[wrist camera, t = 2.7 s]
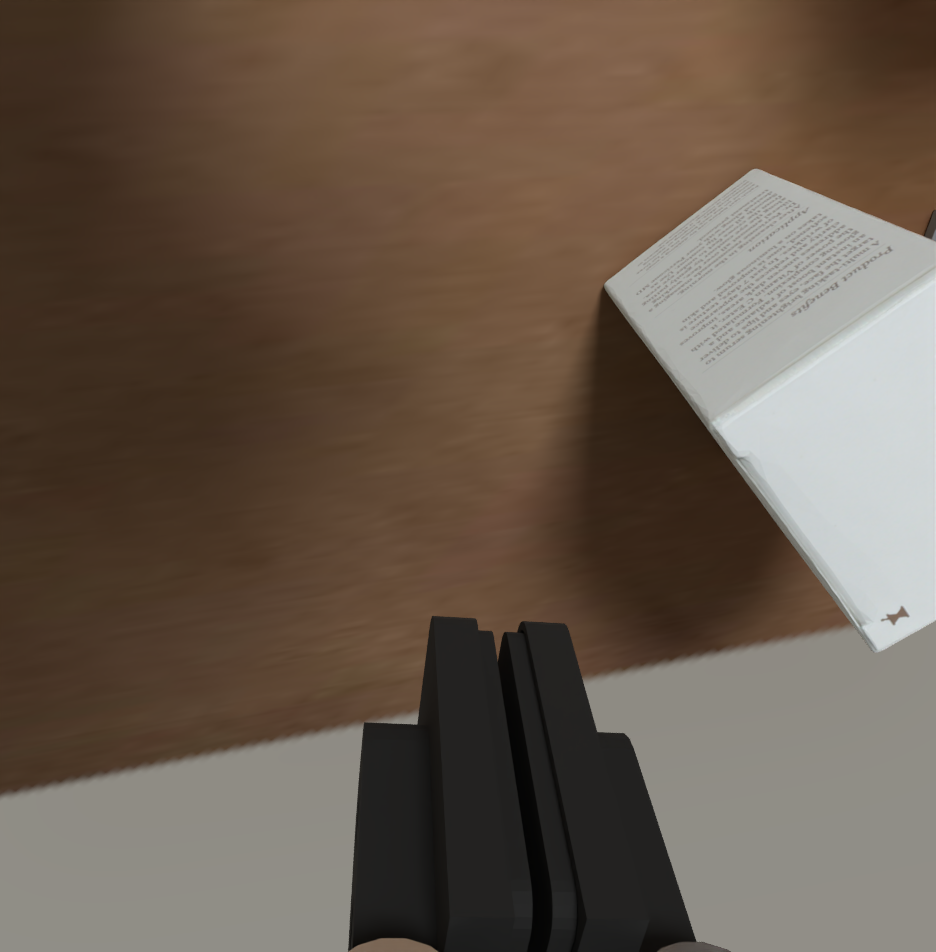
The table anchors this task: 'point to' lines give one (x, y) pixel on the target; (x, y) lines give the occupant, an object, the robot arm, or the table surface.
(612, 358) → the table surface
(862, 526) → the small box
